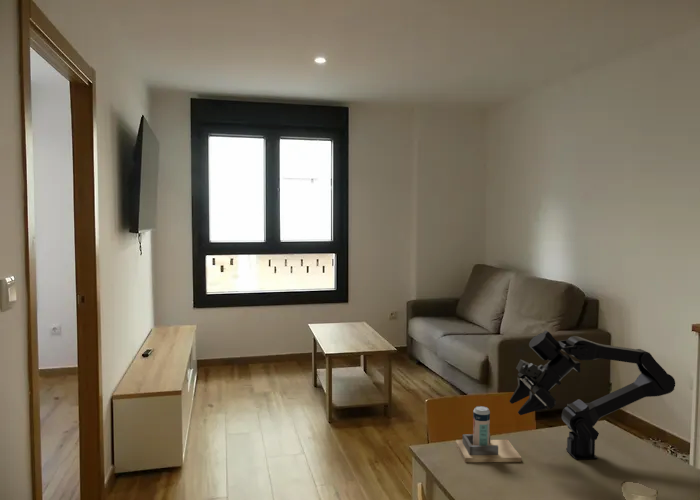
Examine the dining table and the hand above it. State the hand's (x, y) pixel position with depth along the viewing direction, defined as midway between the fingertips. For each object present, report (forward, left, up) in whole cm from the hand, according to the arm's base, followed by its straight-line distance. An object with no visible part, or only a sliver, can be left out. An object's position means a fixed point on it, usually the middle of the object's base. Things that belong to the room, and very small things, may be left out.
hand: (514, 408), depth 150 cm
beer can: (+9, -1, -13) cm, 16 cm away
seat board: (+8, -1, -14) cm, 16 cm away
